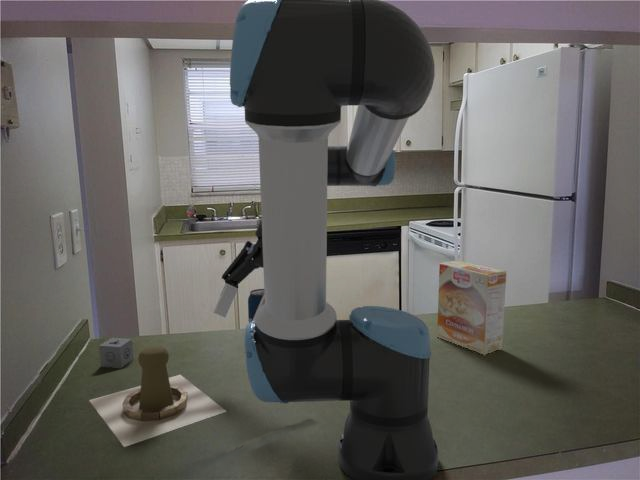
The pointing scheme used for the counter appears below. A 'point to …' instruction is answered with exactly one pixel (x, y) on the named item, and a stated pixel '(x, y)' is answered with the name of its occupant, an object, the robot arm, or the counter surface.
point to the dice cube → (116, 352)
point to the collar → (155, 414)
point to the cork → (154, 379)
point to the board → (142, 430)
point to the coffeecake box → (471, 305)
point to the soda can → (254, 302)
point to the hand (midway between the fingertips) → (236, 322)
